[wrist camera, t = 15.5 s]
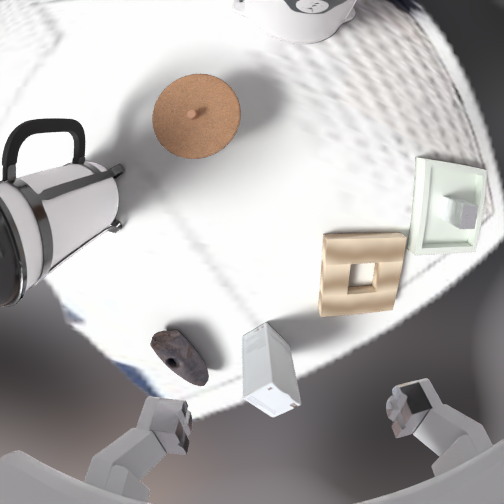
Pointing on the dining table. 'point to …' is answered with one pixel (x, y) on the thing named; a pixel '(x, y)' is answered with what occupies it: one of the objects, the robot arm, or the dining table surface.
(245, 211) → the dining table surface
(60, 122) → the coffee press
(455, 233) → the tray
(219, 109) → the lidded jar
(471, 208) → the pin
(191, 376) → the perforated stone tool
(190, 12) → the dining table surface
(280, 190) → the dining table surface
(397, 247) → the socket block
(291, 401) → the skincare box
